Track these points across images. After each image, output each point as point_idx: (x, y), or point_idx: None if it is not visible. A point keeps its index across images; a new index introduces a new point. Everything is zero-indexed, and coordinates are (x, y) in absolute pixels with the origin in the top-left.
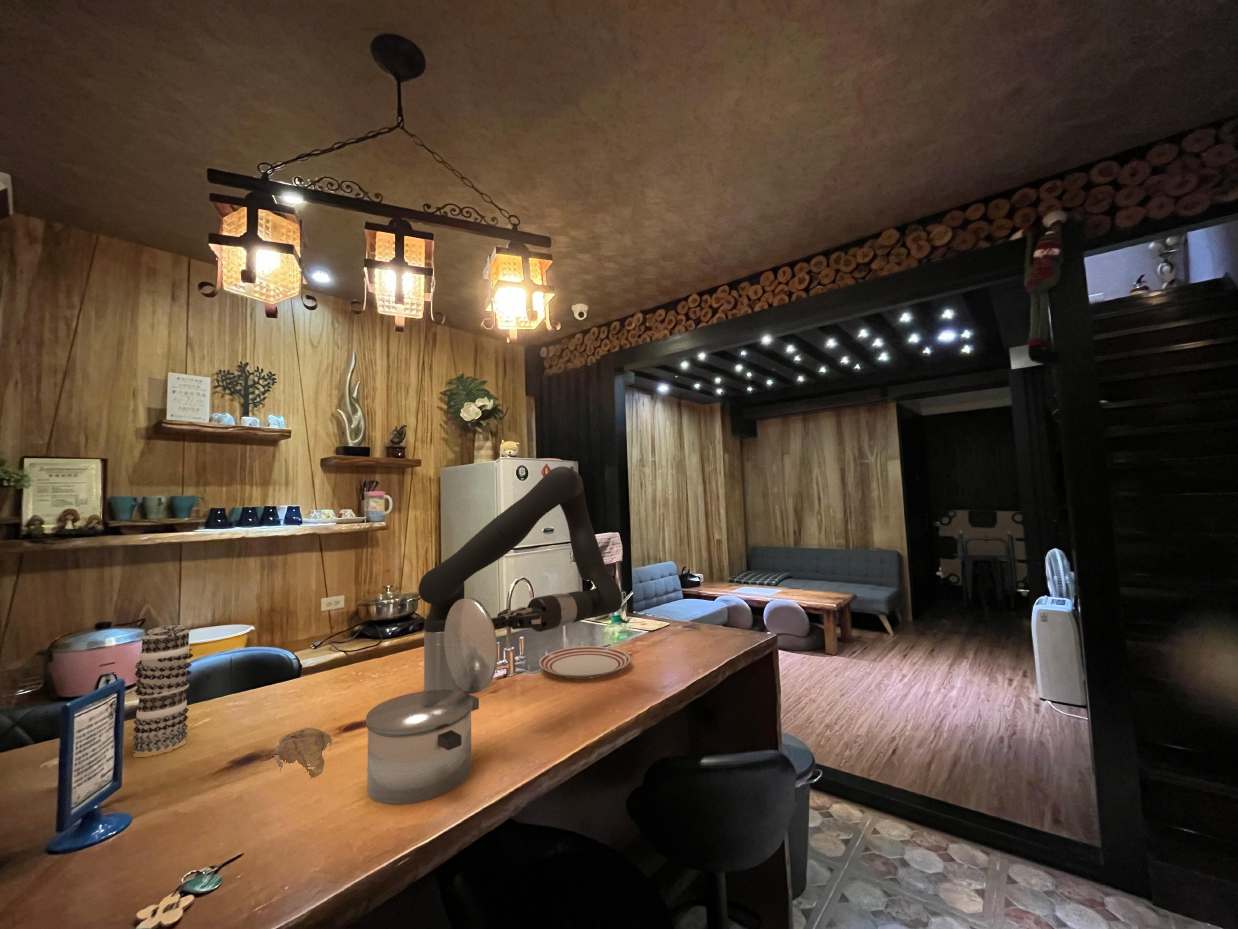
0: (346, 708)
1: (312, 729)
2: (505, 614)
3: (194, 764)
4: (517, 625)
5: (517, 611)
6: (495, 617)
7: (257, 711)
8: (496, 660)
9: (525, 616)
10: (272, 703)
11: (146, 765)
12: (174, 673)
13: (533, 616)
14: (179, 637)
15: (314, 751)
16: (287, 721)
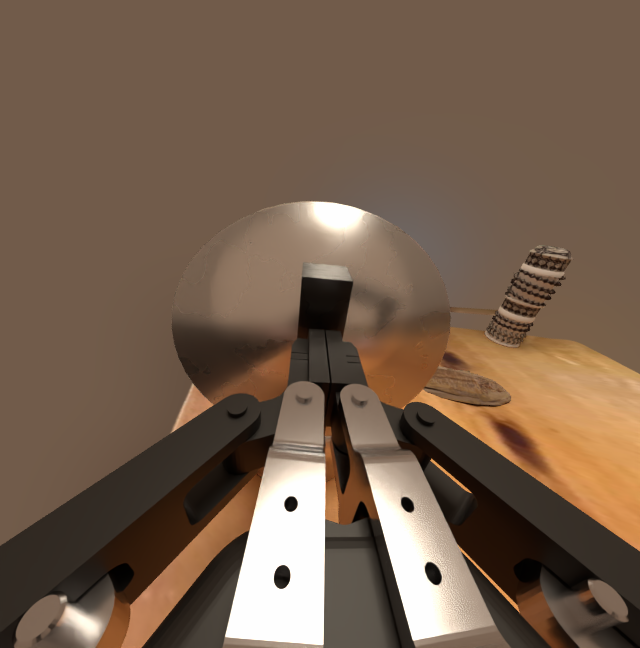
0: (606, 455)
1: (501, 396)
2: (378, 425)
3: (457, 342)
4: (221, 462)
5: (320, 495)
6: (345, 361)
7: (598, 389)
8: (182, 362)
9: (131, 464)
10: (634, 404)
11: (469, 331)
12: (523, 287)
13: (7, 542)
14: (543, 257)
15: (435, 384)
16: (552, 397)
